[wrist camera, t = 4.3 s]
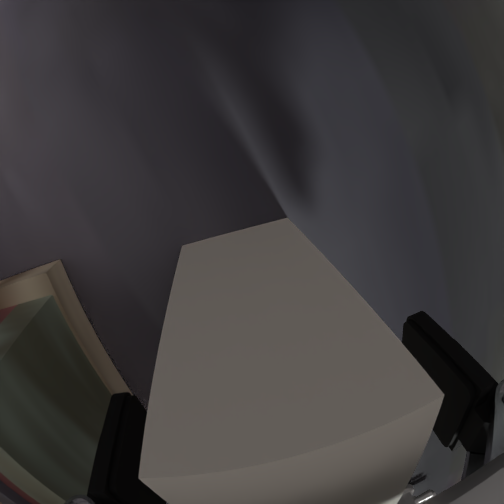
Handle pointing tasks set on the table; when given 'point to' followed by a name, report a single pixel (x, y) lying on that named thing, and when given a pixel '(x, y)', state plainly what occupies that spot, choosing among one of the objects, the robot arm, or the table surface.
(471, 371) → the robot arm
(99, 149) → the table surface
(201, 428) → the boxed book
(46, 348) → the bookshelf
